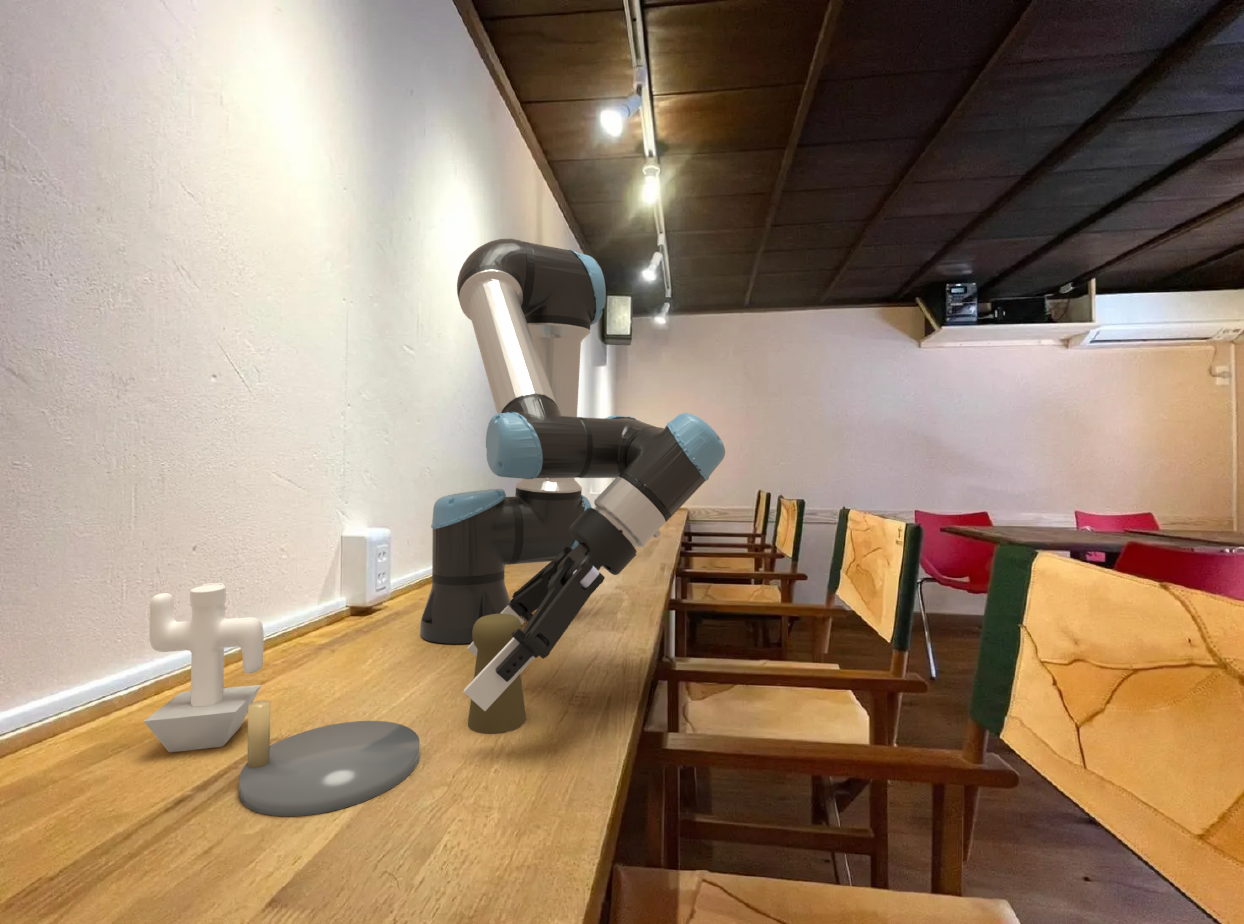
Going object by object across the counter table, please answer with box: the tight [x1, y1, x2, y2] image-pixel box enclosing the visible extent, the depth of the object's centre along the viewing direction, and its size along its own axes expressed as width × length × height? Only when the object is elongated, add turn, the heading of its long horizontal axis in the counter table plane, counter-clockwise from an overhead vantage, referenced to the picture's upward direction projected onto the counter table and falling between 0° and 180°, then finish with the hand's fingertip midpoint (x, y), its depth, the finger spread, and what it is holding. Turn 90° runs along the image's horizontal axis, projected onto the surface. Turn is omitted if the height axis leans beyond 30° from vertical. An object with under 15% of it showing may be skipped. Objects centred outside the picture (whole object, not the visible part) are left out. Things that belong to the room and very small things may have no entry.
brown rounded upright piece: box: [467, 614, 527, 735], centre depth 60 cm, size 6×6×11 cm
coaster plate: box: [238, 700, 421, 817], centre depth 50 cm, size 14×14×6 cm
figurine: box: [143, 582, 265, 753], centre depth 56 cm, size 7×9×15 cm
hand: (474, 675), depth 59 cm, fingers open, 13 cm apart
